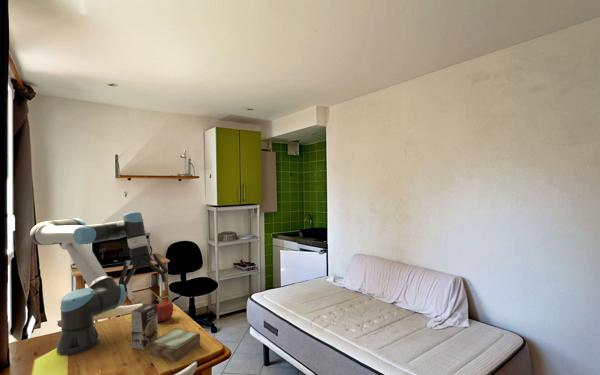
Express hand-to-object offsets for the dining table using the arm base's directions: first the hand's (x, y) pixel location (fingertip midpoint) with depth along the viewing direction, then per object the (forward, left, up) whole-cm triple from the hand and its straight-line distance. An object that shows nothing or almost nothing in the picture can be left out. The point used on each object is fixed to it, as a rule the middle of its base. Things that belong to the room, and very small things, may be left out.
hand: (147, 294), depth 140 cm
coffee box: (-1, -1, -22) cm, 22 cm away
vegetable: (-13, +21, -22) cm, 33 cm away
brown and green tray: (+15, 0, -22) cm, 27 cm away
